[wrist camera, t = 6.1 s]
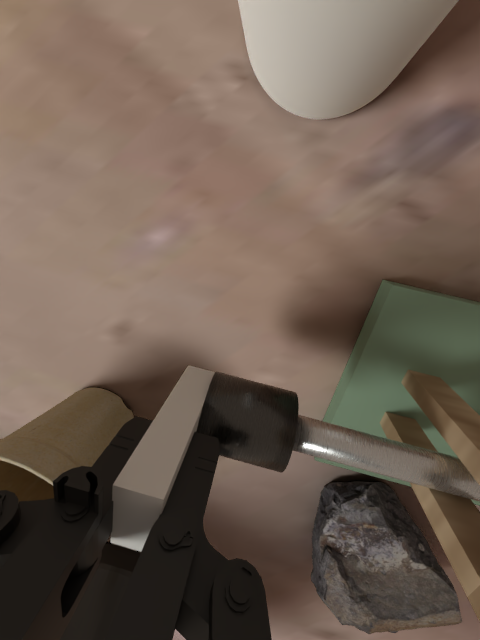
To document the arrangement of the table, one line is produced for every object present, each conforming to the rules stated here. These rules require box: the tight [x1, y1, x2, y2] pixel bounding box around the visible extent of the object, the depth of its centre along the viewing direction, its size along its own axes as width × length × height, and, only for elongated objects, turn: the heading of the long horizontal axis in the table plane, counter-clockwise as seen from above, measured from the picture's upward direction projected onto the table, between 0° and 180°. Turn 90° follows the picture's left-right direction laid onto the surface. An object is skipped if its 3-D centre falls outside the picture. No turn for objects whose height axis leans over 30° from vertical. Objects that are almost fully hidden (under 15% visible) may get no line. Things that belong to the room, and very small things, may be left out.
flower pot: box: [0, 387, 134, 501], centre depth 19 cm, size 9×9×9 cm
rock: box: [311, 481, 462, 634], centre depth 22 cm, size 14×11×5 cm
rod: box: [196, 372, 480, 502], centre depth 13 cm, size 25×4×8 cm, turn 78°
